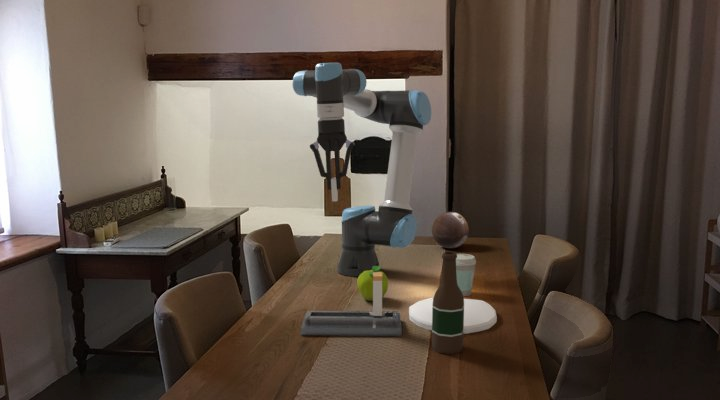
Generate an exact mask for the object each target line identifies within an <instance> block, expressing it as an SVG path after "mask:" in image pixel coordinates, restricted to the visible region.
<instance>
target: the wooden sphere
mask: <svg viewBox="0 0 720 400" xmlns="http://www.w3.org/2000/svg"><path fill="white" fill-rule="evenodd" d="M469 228H470V227H469V223H468V221H467V220H466V218H465V217H464V216H463V215H461V214H460V213H458V212H454V211H446V212H443V213H441V214H439V215H438V216H436V218H435V219H434V221H433V223H432V227H431V234H432V237H433V239H434V240H435V243H437V244H438V245H439V246H441V247H443V248H446V249H457V248H458V247H461V246H462V245H463V244H464V243H465V242H466V241H467V239H468V237H469V233H470V229H469Z"/></svg>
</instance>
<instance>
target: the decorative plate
mask: <svg viewBox="0 0 720 400" xmlns="http://www.w3.org/2000/svg"><path fill="white" fill-rule="evenodd" d="M433 298H434V296H433V297H430V298H429V297H428V298H426V299H420V300H418V301H417V302H415V303H413V304H412V305H410V306H409V307H408V317H409V320H410V321H411V323H413V324H414V325H416V326H418V327H420V328H422V329H425V330H427V331H432V308H433ZM497 319H498V317H497V311H496V309H495V308H494V307H492V305H491V304H489V303H488V302H486V301H484V300H481V299H471V298H464V330H463V335H466V334H471V333H472V334H473V333H478V332H482V331H486V330H489V329H490V328H492V327H494V325H495V324H496V323H498V321H497Z"/></svg>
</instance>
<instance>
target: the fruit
mask: <svg viewBox="0 0 720 400" xmlns="http://www.w3.org/2000/svg"><path fill="white" fill-rule="evenodd" d="M381 268H382V266H381V265H380V266H373V267H372V269H373V270H369V271H364V272H363V273H361V274H360V275H359V276H357V277H358V278H357V280H356V286H357V289H358V292H359V293H360V295H361V296H362V297H363V299H365V300H366V301H369V302H373V272H382V298H384V296H385V295H386V293H387V291H388V288H389V281H388V277H387V275H386V274H385V272H384V271H381ZM379 269H380V271H378V270H379Z"/></svg>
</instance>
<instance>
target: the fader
mask: <svg viewBox="0 0 720 400" xmlns="http://www.w3.org/2000/svg"><path fill="white" fill-rule="evenodd" d="M382 272H383V271H382ZM382 272H373V301H372V311H373V312H370V317H385V312H382V311H383V297H382Z"/></svg>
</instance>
